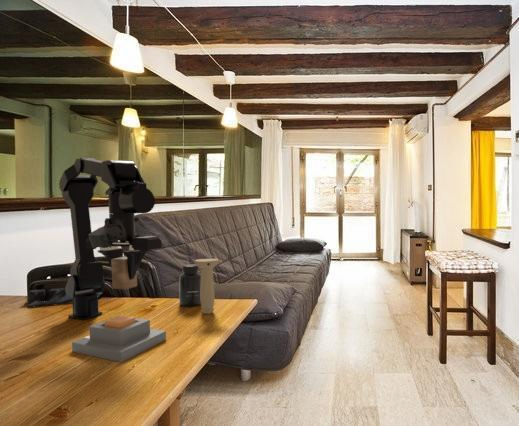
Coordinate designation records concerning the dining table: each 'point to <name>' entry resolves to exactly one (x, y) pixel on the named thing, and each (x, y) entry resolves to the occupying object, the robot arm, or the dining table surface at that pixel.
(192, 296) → the supplement bottle
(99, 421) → the dining table surface
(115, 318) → the button
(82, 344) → the grey stepped square base
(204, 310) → the handle
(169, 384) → the dining table surface
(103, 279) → the robot arm
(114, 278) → the beige rectangular prism
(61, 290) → the dark slate chunk
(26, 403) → the dining table surface
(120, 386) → the dining table surface
